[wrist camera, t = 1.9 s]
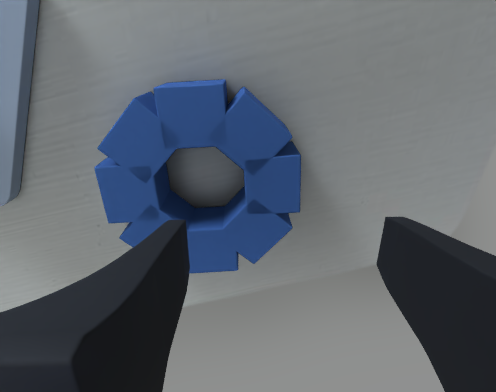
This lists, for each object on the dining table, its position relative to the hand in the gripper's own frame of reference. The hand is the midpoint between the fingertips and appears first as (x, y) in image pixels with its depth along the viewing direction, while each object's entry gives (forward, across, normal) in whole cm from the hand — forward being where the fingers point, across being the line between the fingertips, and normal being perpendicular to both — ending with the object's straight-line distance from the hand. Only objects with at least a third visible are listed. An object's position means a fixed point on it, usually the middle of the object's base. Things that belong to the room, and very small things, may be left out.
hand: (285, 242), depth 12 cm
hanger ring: (+8, +4, 0) cm, 8 cm away
